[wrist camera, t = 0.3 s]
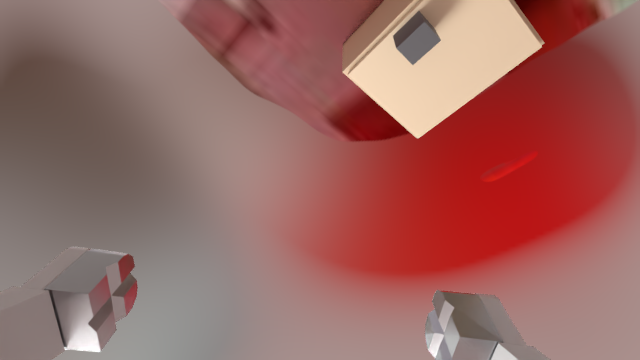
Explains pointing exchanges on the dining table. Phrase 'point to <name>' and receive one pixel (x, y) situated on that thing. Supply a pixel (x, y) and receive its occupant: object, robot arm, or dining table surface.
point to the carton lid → (443, 58)
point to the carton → (381, 23)
